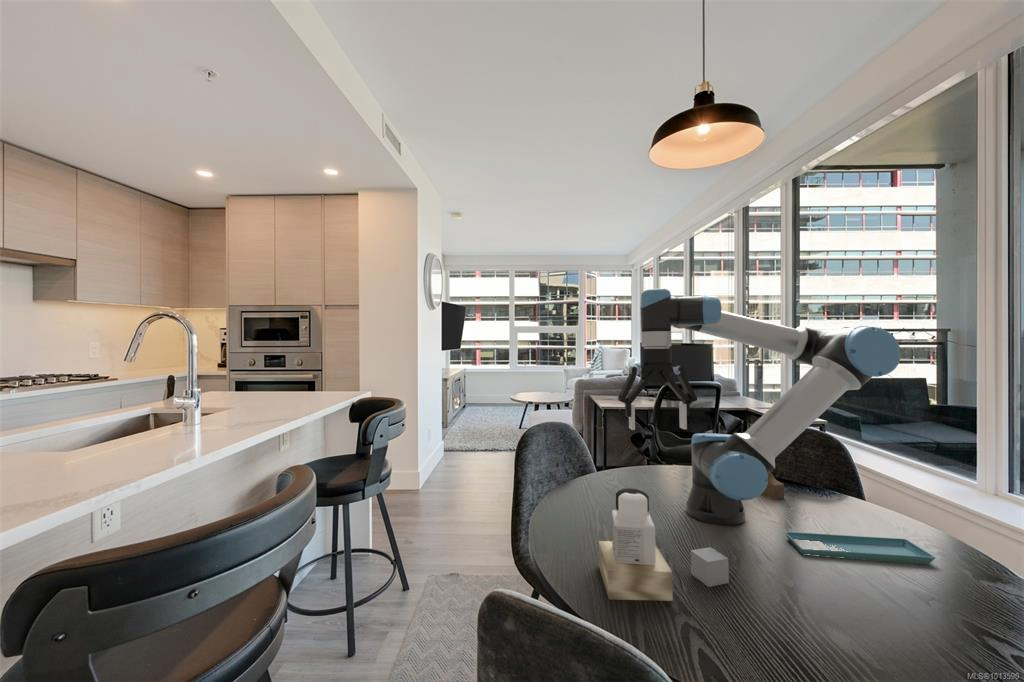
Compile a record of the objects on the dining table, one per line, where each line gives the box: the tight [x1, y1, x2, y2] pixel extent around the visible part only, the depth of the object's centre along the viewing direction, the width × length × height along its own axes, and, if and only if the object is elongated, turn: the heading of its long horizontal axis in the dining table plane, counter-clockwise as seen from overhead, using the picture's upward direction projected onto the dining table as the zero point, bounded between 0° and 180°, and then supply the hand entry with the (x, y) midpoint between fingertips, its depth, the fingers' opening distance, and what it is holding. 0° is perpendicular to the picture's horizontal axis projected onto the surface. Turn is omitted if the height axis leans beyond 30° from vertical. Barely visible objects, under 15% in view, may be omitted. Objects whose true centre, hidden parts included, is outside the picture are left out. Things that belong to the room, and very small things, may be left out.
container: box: [611, 487, 656, 566], centre depth 84 cm, size 8×8×13 cm
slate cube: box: [690, 546, 730, 588], centre depth 85 cm, size 5×5×5 cm
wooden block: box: [760, 471, 785, 500], centre depth 133 cm, size 9×4×18 cm, turn 20°
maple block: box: [598, 540, 674, 602], centre depth 84 cm, size 12×12×6 cm
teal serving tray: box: [784, 531, 936, 566], centre depth 96 cm, size 26×9×2 cm, turn 78°
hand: (657, 428), depth 108 cm, fingers open, 13 cm apart
